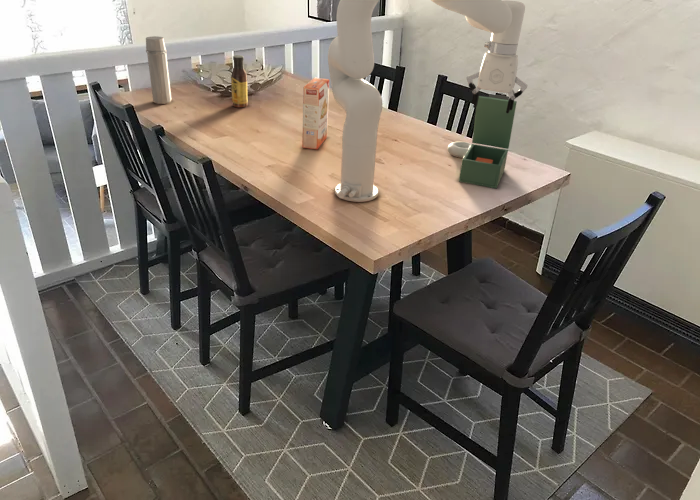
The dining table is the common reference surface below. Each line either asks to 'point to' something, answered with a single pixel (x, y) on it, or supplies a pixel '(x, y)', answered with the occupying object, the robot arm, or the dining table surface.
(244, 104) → the sauce bottle
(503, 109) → the lid
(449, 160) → the dining table surface
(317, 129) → the cracker box
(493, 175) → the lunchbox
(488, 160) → the block
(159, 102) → the water bottle
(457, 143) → the donut
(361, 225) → the dining table surface
